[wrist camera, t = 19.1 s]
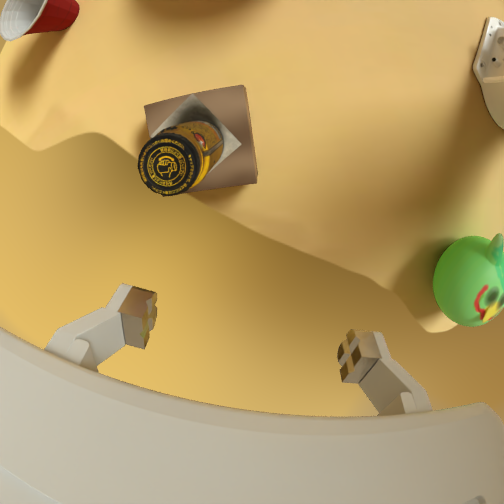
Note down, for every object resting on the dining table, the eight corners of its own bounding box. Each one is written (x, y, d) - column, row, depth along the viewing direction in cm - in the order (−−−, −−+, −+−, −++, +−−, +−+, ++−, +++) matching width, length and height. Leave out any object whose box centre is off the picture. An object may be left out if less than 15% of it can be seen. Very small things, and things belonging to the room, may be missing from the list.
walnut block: (160, 105, 34) (144, 105, 29) (246, 88, 33) (242, 84, 28) (175, 184, 40) (162, 196, 34) (257, 172, 39) (256, 183, 33)
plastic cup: (42, 54, 27) (-7, 53, 17) (46, 5, 22) (2, -4, 12) (90, 31, 27) (42, 20, 16) (95, -20, 22) (53, -40, 11)
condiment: (197, 183, 34) (167, 222, 23) (150, 135, 31) (100, 153, 20) (241, 144, 31) (230, 164, 21) (193, 93, 28) (156, 87, 18)
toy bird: (405, 277, 45) (439, 333, 33) (457, 200, 38) (510, 240, 25) (453, 306, 49) (484, 353, 36) (499, 244, 41) (540, 284, 28)
